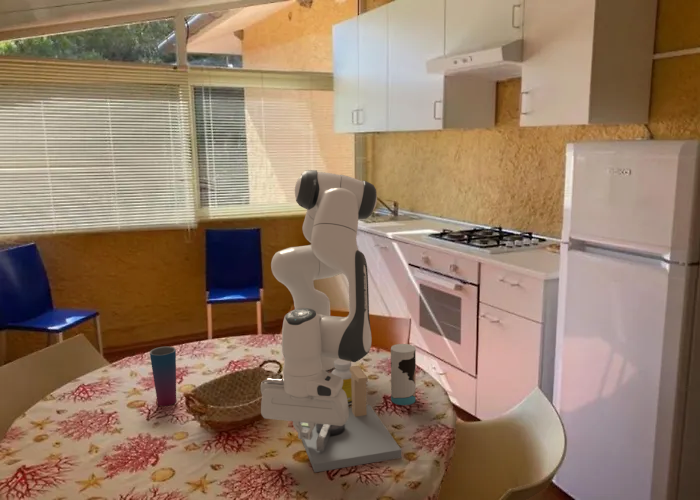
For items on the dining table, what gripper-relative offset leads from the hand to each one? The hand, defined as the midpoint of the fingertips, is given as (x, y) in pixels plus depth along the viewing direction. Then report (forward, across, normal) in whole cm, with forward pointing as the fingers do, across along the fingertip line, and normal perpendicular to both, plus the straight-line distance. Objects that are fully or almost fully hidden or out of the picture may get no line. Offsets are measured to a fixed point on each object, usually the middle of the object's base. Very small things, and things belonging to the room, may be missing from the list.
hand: (305, 438), depth 134 cm
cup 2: (+4, +17, +32) cm, 37 cm away
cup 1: (+4, -47, +18) cm, 50 cm away
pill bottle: (+4, +2, +28) cm, 28 cm away
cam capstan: (+2, +4, +6) cm, 7 cm away
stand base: (+4, +7, +8) cm, 11 cm away
